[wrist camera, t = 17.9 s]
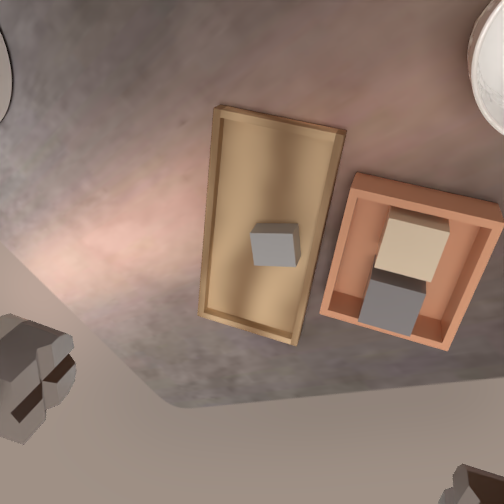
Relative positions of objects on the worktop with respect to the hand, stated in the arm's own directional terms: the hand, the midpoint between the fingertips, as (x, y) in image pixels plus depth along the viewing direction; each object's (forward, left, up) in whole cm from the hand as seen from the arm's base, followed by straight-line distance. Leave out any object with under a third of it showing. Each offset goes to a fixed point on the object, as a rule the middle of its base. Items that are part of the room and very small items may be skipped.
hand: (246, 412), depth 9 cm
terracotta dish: (+5, -10, -28) cm, 30 cm away
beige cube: (+5, -7, -28) cm, 29 cm away
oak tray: (-7, -11, -28) cm, 31 cm away
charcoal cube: (+5, -12, -28) cm, 31 cm away
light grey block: (-5, -11, -28) cm, 30 cm away
